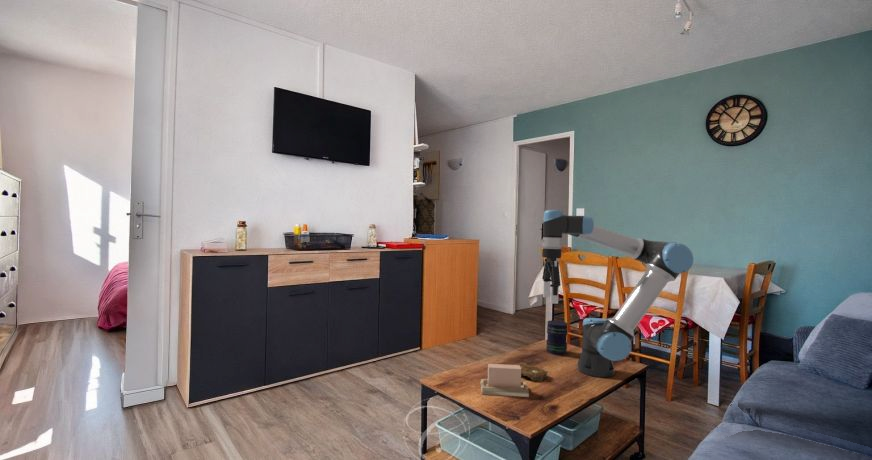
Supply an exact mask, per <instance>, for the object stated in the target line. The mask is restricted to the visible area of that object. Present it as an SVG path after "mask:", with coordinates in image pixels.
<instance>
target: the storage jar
mask: <svg viewBox="0 0 872 460" xmlns="http://www.w3.org/2000/svg"><path fill="white" fill-rule="evenodd" d="M546 334H547V340H546V352H547V354H549V355H553V356H566V355H567V350H568V341H567V337H568V336H567V335H568V323H567V322H566V321H561V320H554V319H553V320H552V319H551V320H548V321H547V326H546Z"/></svg>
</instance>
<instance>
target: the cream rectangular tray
mask: <svg viewBox="0 0 872 460" xmlns="http://www.w3.org/2000/svg"><path fill="white" fill-rule="evenodd" d="M487 383H488V378H481V379H480V388H481V395H486V396H487V395H488V396H504V397H505V396H507V397H519V398H520V397H522V398H523V397H524V398H529V397H530V393H529V392H530V391H529V388H528V385H527V383H526V381H525V380H521V388H506V387H488V385H487Z"/></svg>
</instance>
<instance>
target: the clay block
mask: <svg viewBox="0 0 872 460" xmlns="http://www.w3.org/2000/svg"><path fill="white" fill-rule="evenodd" d="M487 379H488V383H487V385H488V387H506V388H521V381H522V374H521V367H520V365H514V364H503V363H502V364H501V363H498V364H497V363H487Z"/></svg>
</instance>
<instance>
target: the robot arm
mask: <svg viewBox="0 0 872 460" xmlns="http://www.w3.org/2000/svg"><path fill="white" fill-rule="evenodd" d="M542 222H543V223H542V239H541V243H542V247H543V248H542V249H541V251H542V253H541V256H542V257H543V258H544V263H543V264H544V265H543V272H542V277H541V278H542V280H543V284H542V285H543V286H542V287H543V288H542V289H543V291H542V297H543V298H550V304H554V305H555V304H559V290H560V289H559V287H561V275H560V261H558V260H557V259H562V254H563V253H562V252H563V251H562V249H561V248H562V247H563V235H570V236H572V237H574V238H578V239H581V240H584V241H586V242H589V243H593V244H596V245H599V246H601V247H603V248H607V249H611V250H612V251H615V252H619V253H622V254H625V255H628V256H630V258H631V259H632V260H634V261H638V262H640V263H643V264H644V265H645V266H646V271H645V272H644V273H643V275H642V276H641V278H640V279H639V280H638V282H637V284H636V285H635V286H634V288H633V289H632V291H631V292H630V293H629V295H628V296H627V297H626V299H625V301H624V302H623V303H622V305H621V306H620V307H619V309H618V310H617V312H616V313H615V315H614V316H613V317H609V318H600V317H599V318H598V317H586V318H584V319H583V321H582V336H581V337H582V339H581V340H582V343H581V344H582V345H581V346H582V347H581V353H580V356H579V358H578V361H577V363H576V365H577V370H578V372H581V373H582V374H585V375H587V376H592V377H596V378H597V377H598V378H610V377H613V376H614V375H615V370H616V369H615V367H614V363H613V362H618V361H622V360H625V359H626V358H627V357H628V356H629V355H630V354H631V351H632V341H633V340H634V338H635V332H634V331H635V330H636V328H637V326H638V325H639V324H640V322H641V321H642V319H643V318H644V317H645V315H646V314H647V313H648V312H649V310H650V308H651V307H652V305H653V304H654V302H656V299H657V298H658V297H659V295H661V292H662V291H663V290H664V289H665V287H666V286H667V285H668V283H671V282H674V281H676V279H677V278H678V276H679V275H680V274H684V273H687V272H688V271H689V270H691V268H692V266H693V265H694V256H693V251H692V250H691V249H690V247H689V246H687V245H686V244H683V243H681V242H676V241H670V242H669V241H657V240H655V241H654V240H648V239H645V238H641V237H637V238H635V237H634V238H633V237H631V236H628V235H625V234H622V233H618V232H616V231H613V230H611V229H607V228H604V227H601V226H598V225H595V223H594V218H593V217H592V216H591V215H590V216H589V215H588V216H587V215H566V214H565V215H564V211H563V210H561V209H559V210H558V209H547V210H545V211H544V212H543V220H542Z"/></svg>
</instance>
